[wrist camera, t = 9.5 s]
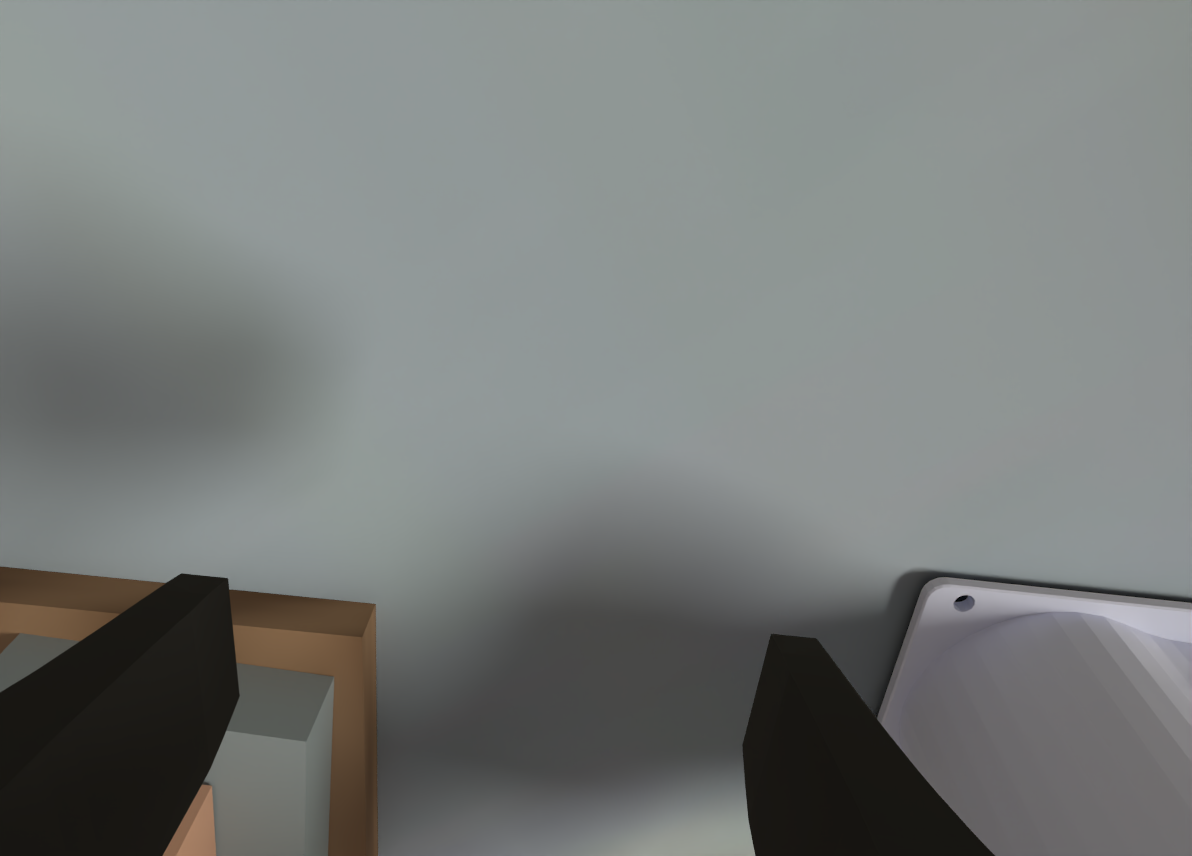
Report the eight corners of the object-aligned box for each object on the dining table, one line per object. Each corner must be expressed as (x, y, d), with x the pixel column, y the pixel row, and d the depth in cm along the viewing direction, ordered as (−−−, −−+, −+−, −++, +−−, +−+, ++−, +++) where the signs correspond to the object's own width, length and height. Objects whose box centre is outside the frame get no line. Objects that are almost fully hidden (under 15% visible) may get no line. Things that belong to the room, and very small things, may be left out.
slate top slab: (334, 676, 22) (306, 741, 20) (327, 877, 26) (302, 949, 24) (20, 632, 22) (-39, 694, 20) (57, 842, 25) (9, 913, 23)
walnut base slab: (383, 584, 24) (362, 637, 22) (384, 830, 28) (366, 893, 26) (16, 548, 23) (-39, 598, 21) (76, 802, 28) (35, 863, 26)
